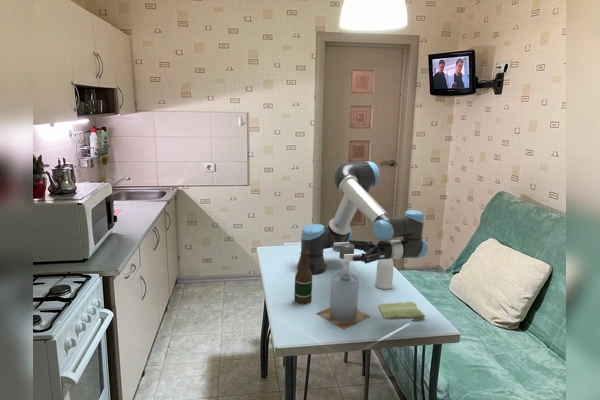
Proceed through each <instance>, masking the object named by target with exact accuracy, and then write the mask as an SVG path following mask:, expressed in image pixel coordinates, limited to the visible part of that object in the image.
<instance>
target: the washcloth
mask: <svg viewBox="0 0 600 400" xmlns="http://www.w3.org/2000/svg"><path fill="white" fill-rule="evenodd" d="M376 307H377V308H378V309H379V313H380V314H381V315H383V318H384V320H400V319H401V320H402V319H412V320H411V322H412V321H422V320H424V319H425V318H426V315H425V314H424V313H423V312H422V311H421V310H420V309H419V308H418V307H417V305H416V303H415V302H413V301H412V300H411V301H406V302H405V301H404V302H403V301H402V302H401V301H400V302H391V303H390V302H389V303H380V304H377V305H376Z"/></svg>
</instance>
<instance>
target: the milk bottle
mask: <svg viewBox="0 0 600 400" xmlns="http://www.w3.org/2000/svg"><path fill="white" fill-rule="evenodd" d="M393 278H394V260H393V259H381V260H377V265H376V276H375V286H376V287H377V289H381V290H390V289H392V287H393Z"/></svg>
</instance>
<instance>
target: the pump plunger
mask: <svg viewBox="0 0 600 400" xmlns="http://www.w3.org/2000/svg"><path fill="white" fill-rule="evenodd" d="M332 249H333V250H334V249H340V250H339V258H340V259H341V260H344V254H355V249H354V245H353V244H350V243H342V244H340V245H333V248H332ZM349 263H350V262H344V261H343V267H342V268H343V269H342V272H343V274H344V275H348V273H349Z"/></svg>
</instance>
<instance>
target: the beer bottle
mask: <svg viewBox="0 0 600 400" xmlns="http://www.w3.org/2000/svg"><path fill="white" fill-rule="evenodd" d="M308 254H309V251H307V250H302V251H301V250H300V256H301V260H300V268H299V269H297V271H296V273H295V278H294V297H293V299H294V300H293V301H294V303H297V304H299V305H307V304H310V303H311V302H312V297H313V296H312V295H313V274H312V273H311V271H310V269H309V264H308Z"/></svg>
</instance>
